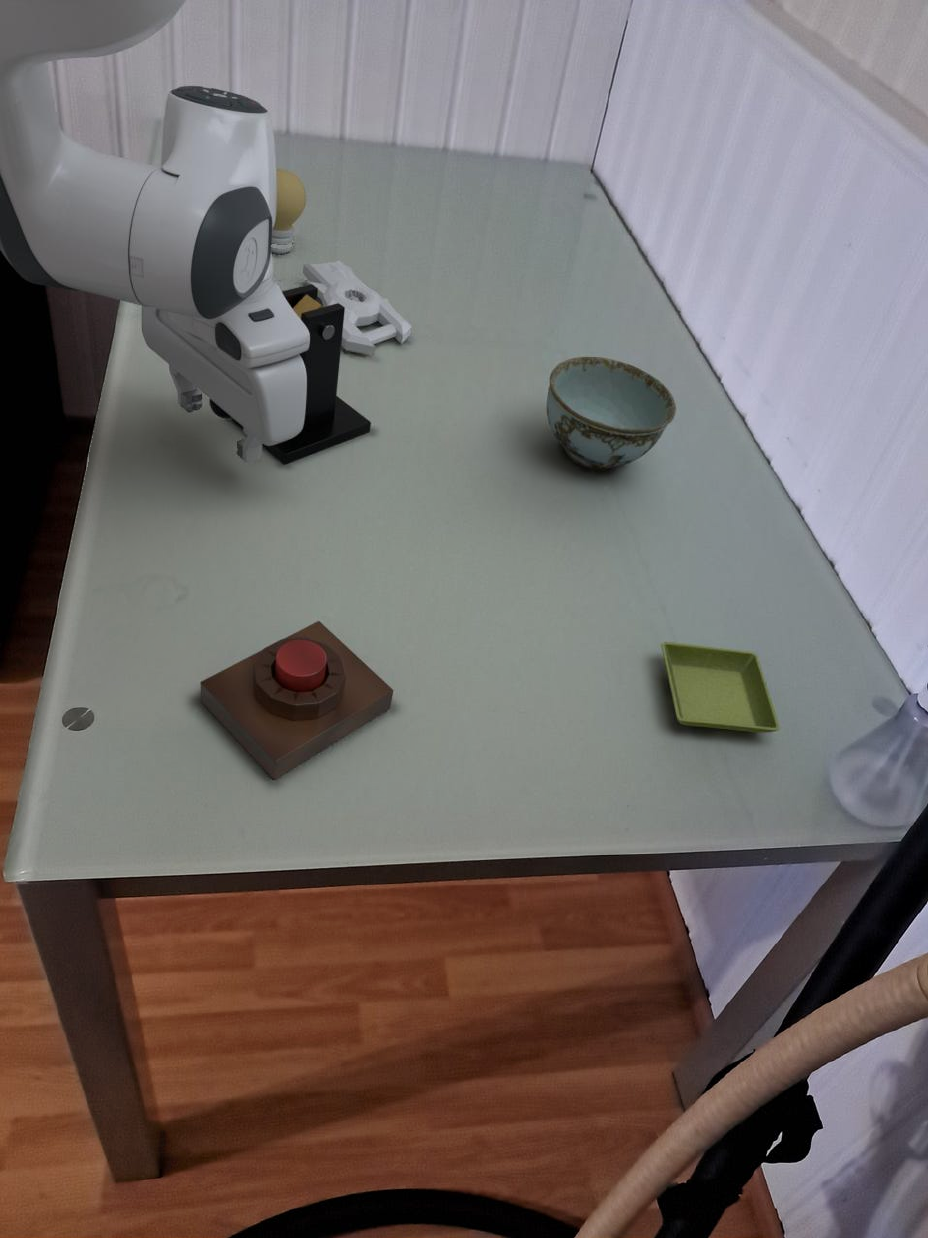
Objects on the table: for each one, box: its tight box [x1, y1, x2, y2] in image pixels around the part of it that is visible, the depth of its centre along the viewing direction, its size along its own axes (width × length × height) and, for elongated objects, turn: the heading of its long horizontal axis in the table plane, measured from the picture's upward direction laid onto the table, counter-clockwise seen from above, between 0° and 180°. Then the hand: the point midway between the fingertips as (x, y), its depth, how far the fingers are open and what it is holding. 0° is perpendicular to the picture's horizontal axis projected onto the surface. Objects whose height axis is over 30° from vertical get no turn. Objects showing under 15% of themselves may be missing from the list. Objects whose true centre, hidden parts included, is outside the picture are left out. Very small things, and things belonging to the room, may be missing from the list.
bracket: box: [230, 284, 372, 465], centre depth 94 cm, size 11×9×14 cm
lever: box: [208, 295, 323, 420], centre depth 90 cm, size 14×3×3 cm
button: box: [275, 640, 326, 692], centre depth 70 cm, size 4×4×2 cm
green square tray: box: [661, 641, 780, 734], centre depth 80 cm, size 9×9×2 cm
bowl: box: [546, 356, 677, 471], centre depth 101 cm, size 14×13×8 cm
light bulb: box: [271, 168, 307, 255], centre depth 122 cm, size 6×6×10 cm
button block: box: [199, 620, 394, 781], centre depth 71 cm, size 11×9×4 cm
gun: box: [302, 259, 413, 356], centre depth 115 cm, size 18×3×10 cm
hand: (219, 432), depth 91 cm, fingers open, 8 cm apart
